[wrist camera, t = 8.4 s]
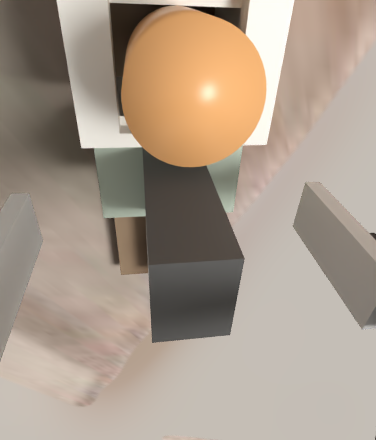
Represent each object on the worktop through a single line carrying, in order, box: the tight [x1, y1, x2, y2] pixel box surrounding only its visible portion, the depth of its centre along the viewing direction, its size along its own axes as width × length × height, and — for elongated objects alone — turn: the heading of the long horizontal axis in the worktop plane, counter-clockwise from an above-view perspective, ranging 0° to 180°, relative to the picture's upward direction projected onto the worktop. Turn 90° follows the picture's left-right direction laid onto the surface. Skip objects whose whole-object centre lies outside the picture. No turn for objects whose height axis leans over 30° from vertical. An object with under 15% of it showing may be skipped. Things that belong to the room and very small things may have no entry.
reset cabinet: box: [57, 0, 294, 148], centre depth 15 cm, size 8×6×8 cm
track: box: [110, 3, 215, 275], centre depth 23 cm, size 8×22×4 cm, turn 178°
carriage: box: [94, 145, 244, 343], centre depth 16 cm, size 8×5×13 cm, turn 88°
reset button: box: [121, 5, 267, 167], centre depth 11 cm, size 4×4×5 cm
